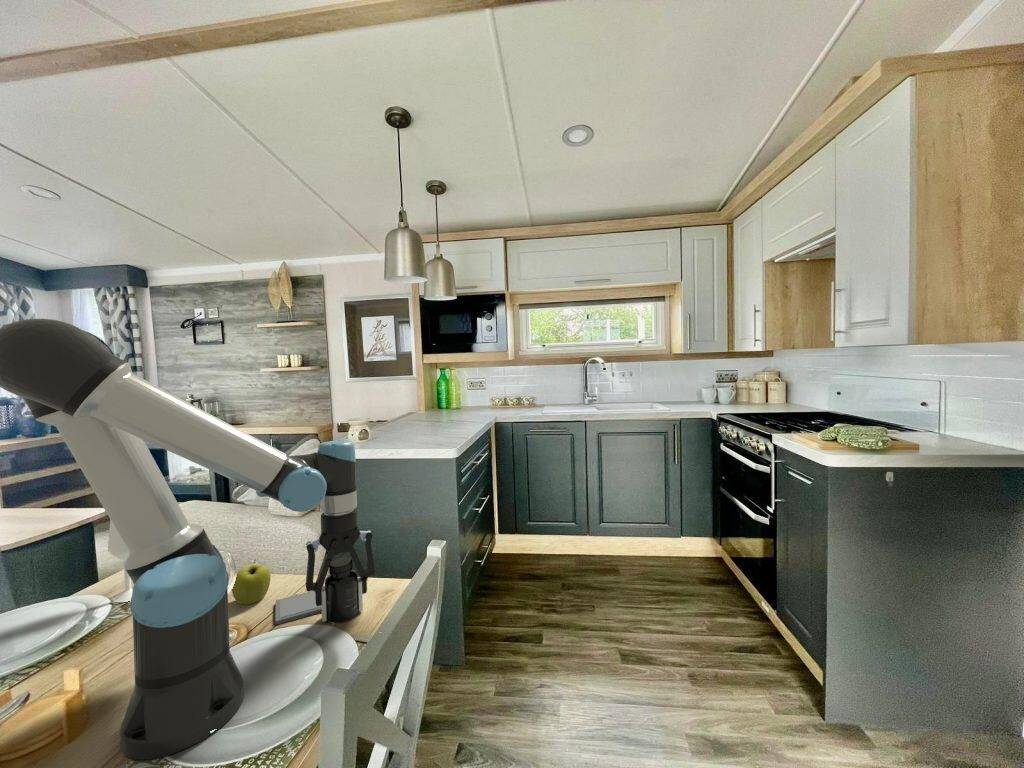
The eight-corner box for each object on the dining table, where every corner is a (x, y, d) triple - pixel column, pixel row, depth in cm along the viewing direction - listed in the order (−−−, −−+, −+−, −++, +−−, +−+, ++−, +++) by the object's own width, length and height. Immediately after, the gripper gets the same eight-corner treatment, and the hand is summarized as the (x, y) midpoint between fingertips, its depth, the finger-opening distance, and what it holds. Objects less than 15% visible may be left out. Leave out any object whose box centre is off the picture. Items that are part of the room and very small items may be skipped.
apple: (233, 591, 102) (245, 551, 102) (268, 596, 104) (280, 557, 104) (219, 608, 94) (233, 565, 95) (257, 613, 96) (270, 570, 97)
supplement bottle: (318, 621, 90) (316, 567, 89) (340, 605, 96) (338, 554, 96) (344, 626, 87) (342, 570, 87) (365, 609, 94) (363, 556, 94)
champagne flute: (117, 594, 104) (113, 500, 104) (150, 588, 107) (147, 496, 107) (104, 607, 98) (100, 507, 98) (140, 600, 101) (136, 503, 101)
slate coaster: (326, 610, 94) (325, 607, 94) (275, 624, 89) (275, 620, 89) (321, 591, 102) (321, 588, 102) (275, 603, 97) (275, 599, 97)
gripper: (380, 499, 100) (383, 593, 100) (288, 514, 90) (291, 618, 90) (388, 507, 93) (391, 607, 93) (289, 524, 83) (292, 636, 84)
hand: (342, 612), depth 92 cm, fingers closed on supplement bottle, 7 cm apart
